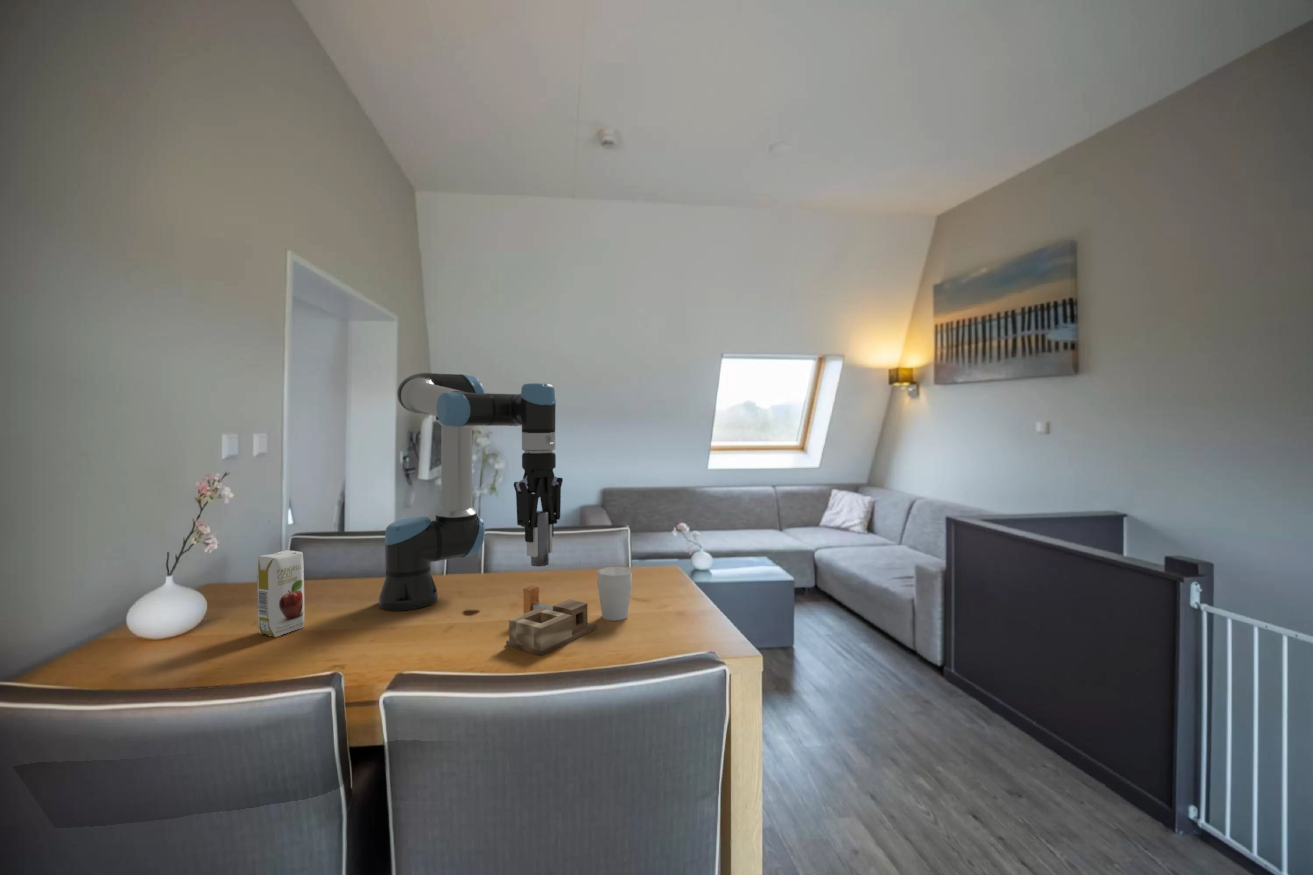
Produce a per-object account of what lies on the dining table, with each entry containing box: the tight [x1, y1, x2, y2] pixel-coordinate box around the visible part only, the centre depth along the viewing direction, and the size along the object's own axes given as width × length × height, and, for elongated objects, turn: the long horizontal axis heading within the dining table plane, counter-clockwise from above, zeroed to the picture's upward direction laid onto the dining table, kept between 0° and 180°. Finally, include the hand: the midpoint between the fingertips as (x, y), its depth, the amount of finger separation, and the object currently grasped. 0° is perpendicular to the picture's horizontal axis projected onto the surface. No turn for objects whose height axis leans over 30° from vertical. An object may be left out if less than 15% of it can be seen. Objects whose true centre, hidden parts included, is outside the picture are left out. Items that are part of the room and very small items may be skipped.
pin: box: [522, 585, 553, 614], centre depth 142 cm, size 14×3×8 cm, turn 57°
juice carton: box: [256, 549, 306, 637], centre depth 138 cm, size 8×9×19 cm
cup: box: [596, 566, 633, 622], centre depth 148 cm, size 9×9×12 cm
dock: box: [505, 598, 597, 656], centre depth 135 cm, size 11×19×6 cm, turn 147°
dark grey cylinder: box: [530, 510, 550, 567], centre depth 130 cm, size 4×4×12 cm
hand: (539, 553), depth 130 cm, fingers closed on dark grey cylinder, 4 cm apart
